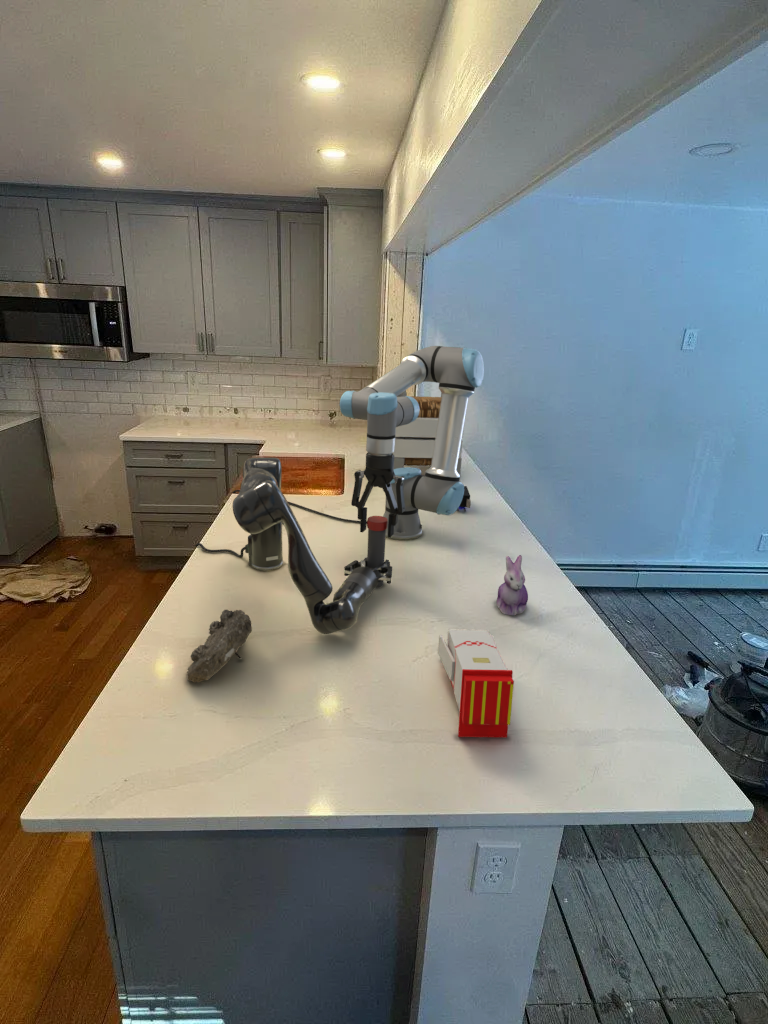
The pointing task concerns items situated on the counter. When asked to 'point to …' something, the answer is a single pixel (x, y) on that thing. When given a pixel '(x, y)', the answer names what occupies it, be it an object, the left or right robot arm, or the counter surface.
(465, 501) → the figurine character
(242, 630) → the fossil
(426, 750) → the counter surface
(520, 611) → the figurine
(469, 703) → the toy
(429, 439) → the grey storage crate
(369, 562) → the grey cylinder
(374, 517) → the lid
